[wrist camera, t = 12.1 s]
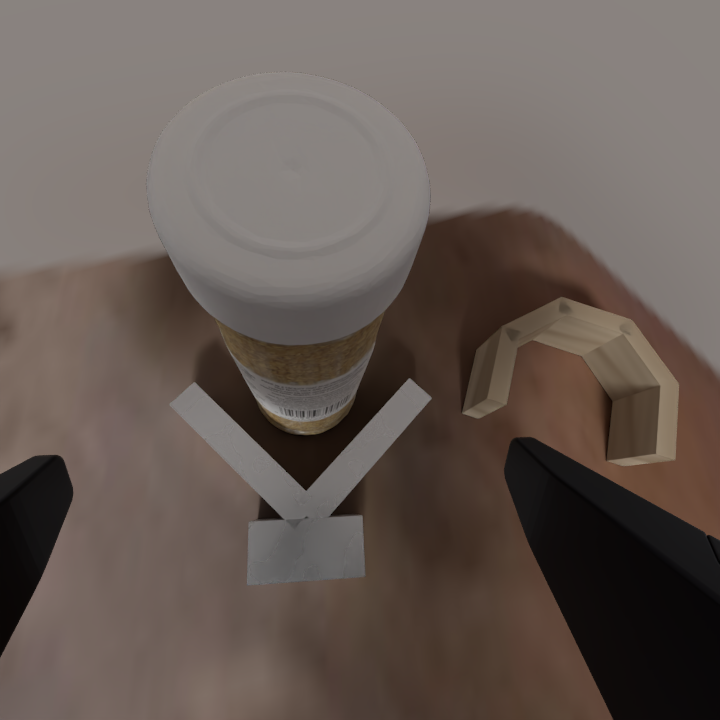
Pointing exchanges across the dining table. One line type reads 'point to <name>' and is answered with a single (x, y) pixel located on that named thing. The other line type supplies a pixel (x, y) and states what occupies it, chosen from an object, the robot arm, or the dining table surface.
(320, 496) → the V-block
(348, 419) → the dining table surface
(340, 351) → the sprinkles bottle
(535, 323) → the wooden collar
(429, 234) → the dining table surface
